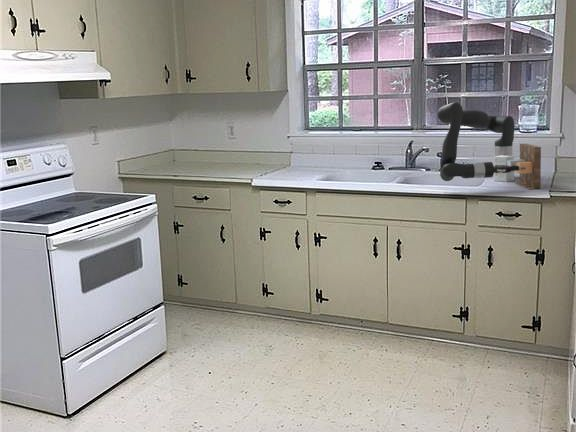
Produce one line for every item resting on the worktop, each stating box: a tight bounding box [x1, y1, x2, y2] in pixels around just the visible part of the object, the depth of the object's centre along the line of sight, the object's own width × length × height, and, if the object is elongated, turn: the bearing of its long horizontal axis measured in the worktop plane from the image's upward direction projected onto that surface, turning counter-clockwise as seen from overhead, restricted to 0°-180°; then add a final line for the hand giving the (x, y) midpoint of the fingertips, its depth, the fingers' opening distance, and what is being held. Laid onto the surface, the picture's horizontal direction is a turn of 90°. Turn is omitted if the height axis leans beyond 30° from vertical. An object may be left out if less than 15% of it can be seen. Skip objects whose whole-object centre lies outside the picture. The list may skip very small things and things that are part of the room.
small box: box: [493, 155, 515, 183], centre depth 346 cm, size 8×6×13 cm
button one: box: [507, 158, 525, 166], centre depth 329 cm, size 5×9×5 cm, turn 89°
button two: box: [516, 161, 533, 175], centre depth 318 cm, size 5×9×5 cm, turn 89°
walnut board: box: [514, 143, 542, 190], centre depth 324 cm, size 21×6×20 cm, turn 179°
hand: (518, 168), depth 319 cm, fingers closed
